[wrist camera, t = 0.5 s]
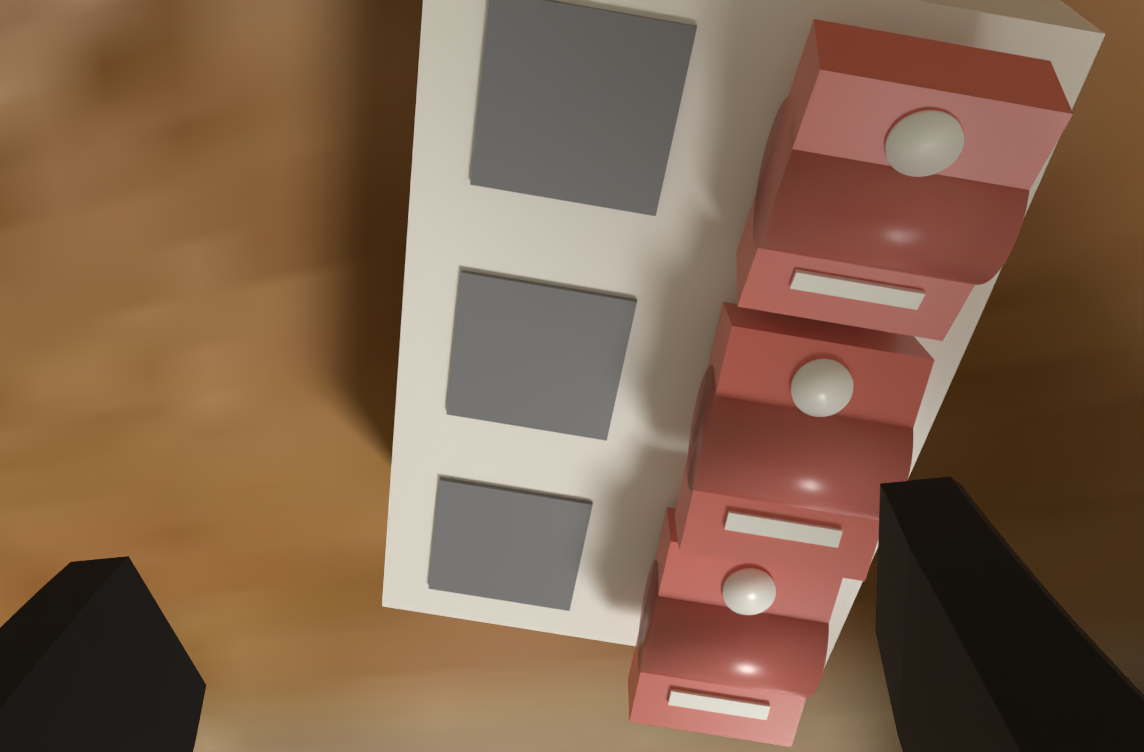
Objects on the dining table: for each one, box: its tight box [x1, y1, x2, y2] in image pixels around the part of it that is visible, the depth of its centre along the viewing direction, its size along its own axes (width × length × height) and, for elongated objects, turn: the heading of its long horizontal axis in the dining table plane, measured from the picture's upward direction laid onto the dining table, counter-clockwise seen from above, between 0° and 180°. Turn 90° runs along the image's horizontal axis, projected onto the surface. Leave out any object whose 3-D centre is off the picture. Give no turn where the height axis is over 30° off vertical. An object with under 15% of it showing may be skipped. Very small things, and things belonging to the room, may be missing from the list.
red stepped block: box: [674, 302, 934, 581], centre depth 16 cm, size 4×3×2 cm
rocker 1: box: [628, 507, 843, 747], centre depth 18 cm, size 4×3×2 cm
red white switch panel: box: [382, 0, 1105, 668], centre depth 18 cm, size 13×9×4 cm
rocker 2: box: [737, 19, 1073, 341], centre depth 14 cm, size 4×3×2 cm
